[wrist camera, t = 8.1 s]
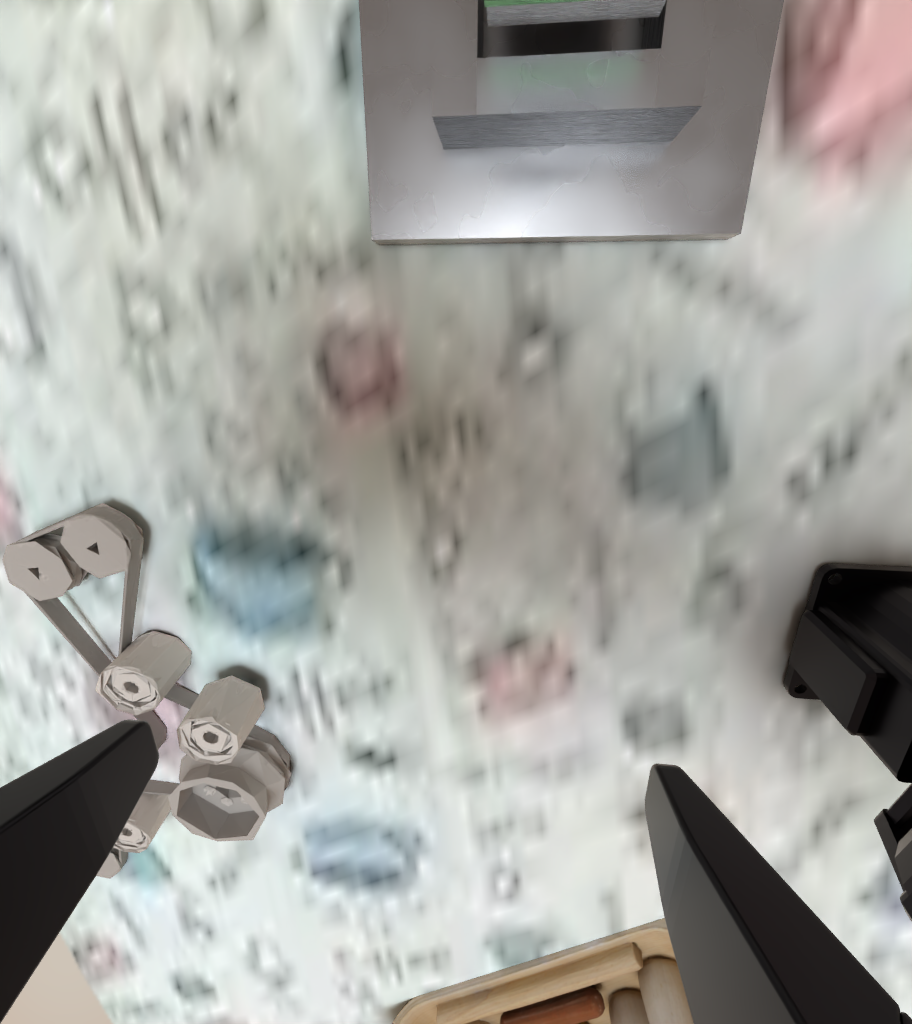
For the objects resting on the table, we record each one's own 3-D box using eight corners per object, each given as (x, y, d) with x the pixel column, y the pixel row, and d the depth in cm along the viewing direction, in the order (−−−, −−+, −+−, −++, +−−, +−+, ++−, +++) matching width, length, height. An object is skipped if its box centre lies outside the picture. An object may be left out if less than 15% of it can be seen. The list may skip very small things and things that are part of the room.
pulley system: (349, 562, 23) (35, 470, 22) (319, 621, 19) (-73, 510, 18) (269, 880, 34) (56, 828, 33) (239, 963, 30) (-8, 906, 29)
